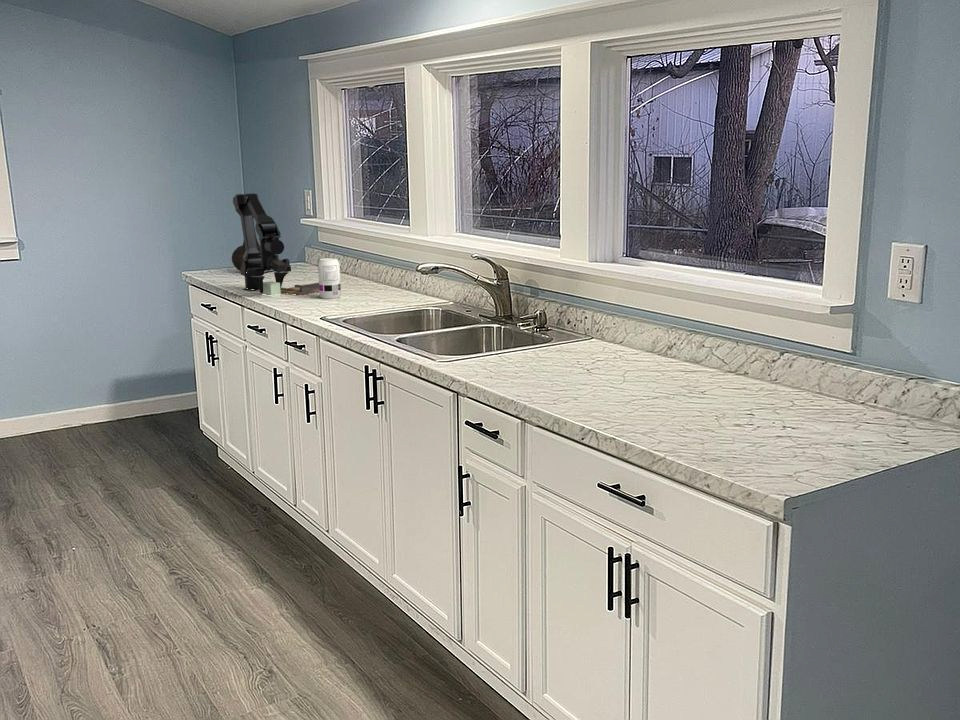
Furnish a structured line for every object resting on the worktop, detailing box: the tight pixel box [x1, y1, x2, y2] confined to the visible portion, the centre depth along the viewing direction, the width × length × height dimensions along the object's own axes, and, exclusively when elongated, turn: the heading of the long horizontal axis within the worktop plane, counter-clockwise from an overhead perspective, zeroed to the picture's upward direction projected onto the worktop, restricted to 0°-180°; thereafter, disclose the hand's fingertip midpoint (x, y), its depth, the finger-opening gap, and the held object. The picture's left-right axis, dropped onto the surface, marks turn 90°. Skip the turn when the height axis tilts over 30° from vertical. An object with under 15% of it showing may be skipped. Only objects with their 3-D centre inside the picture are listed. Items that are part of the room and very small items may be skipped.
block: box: [260, 281, 282, 295], centre depth 378 cm, size 6×5×5 cm
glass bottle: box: [231, 215, 261, 271], centre depth 448 cm, size 18×18×28 cm
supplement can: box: [317, 257, 342, 300], centre depth 368 cm, size 8×8×15 cm
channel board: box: [280, 282, 320, 296], centre depth 384 cm, size 14×13×4 cm
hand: (270, 291), depth 378 cm, fingers open, 9 cm apart
